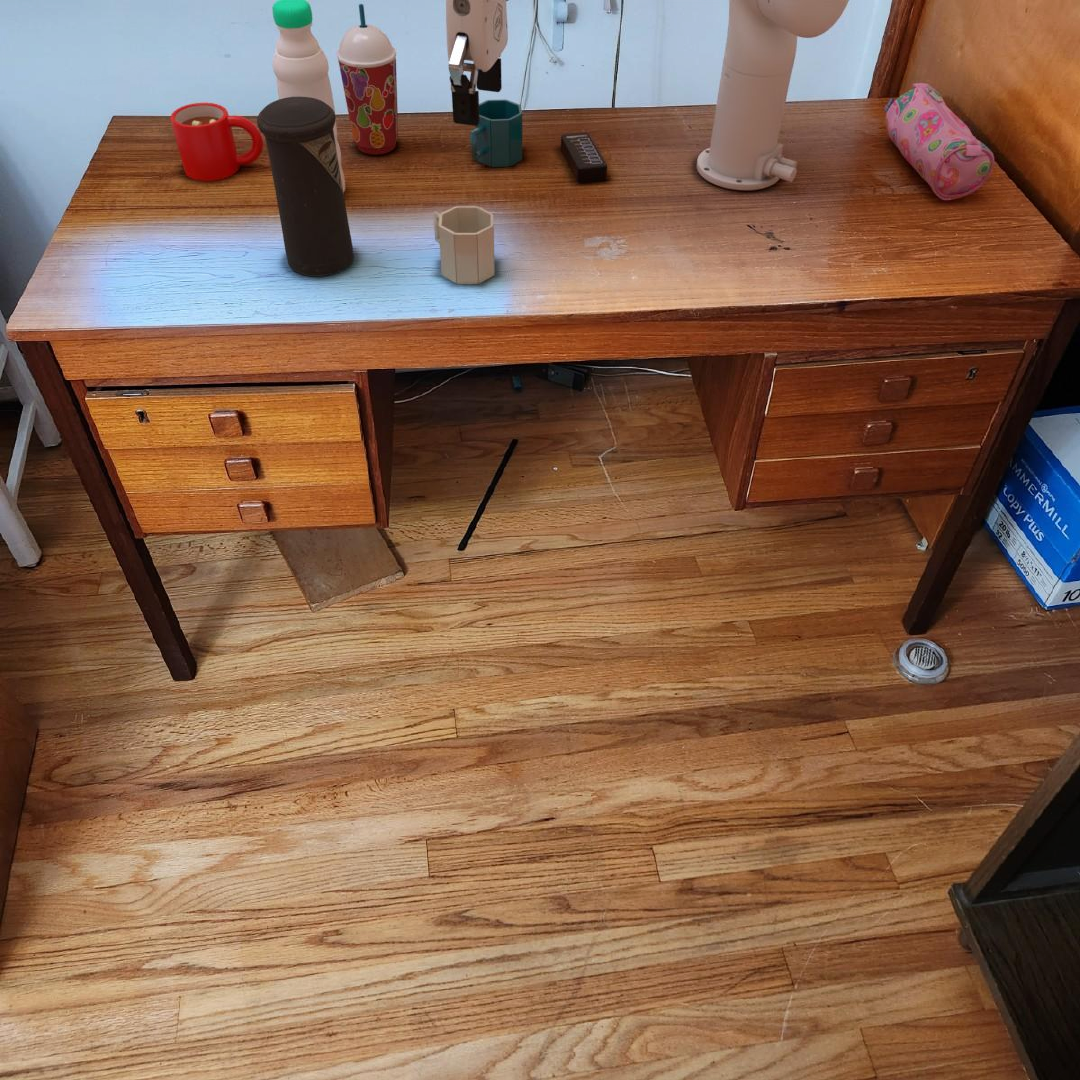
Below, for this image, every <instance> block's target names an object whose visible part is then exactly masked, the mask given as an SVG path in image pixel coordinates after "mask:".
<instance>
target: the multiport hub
mask: <svg viewBox="0 0 1080 1080" xmlns="http://www.w3.org/2000/svg"><path fill="white" fill-rule="evenodd" d="M560 151H561V153H562V156H563V157H564V159H565V161H566V163H567V166H568V167H569V169H570V171H571V173H572V175H573V177H574V179H575V181H576V182H577V184H589V183H599V182H606V181H607V175H608V163H607V162H606V160H605V159H604V156H603V155H602V153H601V151H600V150H599V148H598V145H596V143H595V141H594V139H593V137H592V136H591V134H590V132H588V131H586V132H585V131H584V132H574V133H563V134H561V135H560Z"/></svg>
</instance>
